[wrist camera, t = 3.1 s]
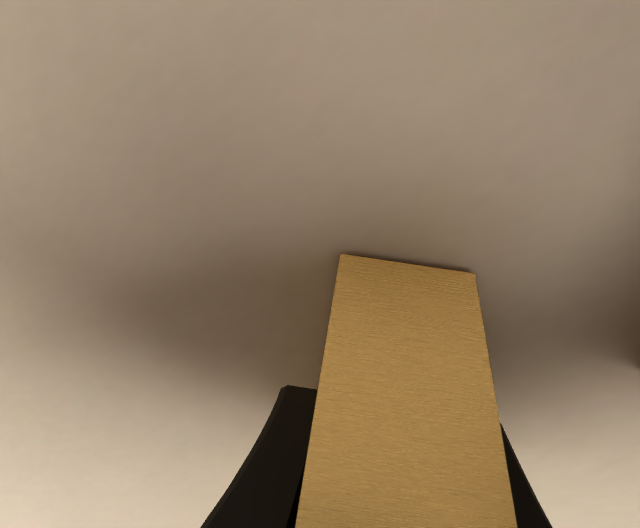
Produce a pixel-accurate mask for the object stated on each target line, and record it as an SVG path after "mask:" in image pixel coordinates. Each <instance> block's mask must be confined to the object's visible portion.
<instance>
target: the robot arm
mask: <svg viewBox="0 0 640 528" xmlns="http://www.w3.org/2000/svg"><path fill="white" fill-rule="evenodd" d="M317 392H318V390H315V389H309V388H303V387H297V386H290V385H287V386H285V387H283V388H281V390H280V392H279V395H278V398H277V401H276V403H275V405H274V407H273V410H272V412H271V414H270V416H269V418H268V420H267V422H266V424H265V426H264V428H263V430H262V432H261V434H260V435H259V437H258V439H257V441H256V443H255V444H254V446H253V448H252V450H251V451H250V453H249V455H248V456H247V458H246V460H245V461H244V463H243V464H242V466H241V468H240V469H239V471H238V473H237V474H236V476H235V477H234V479H233V481H232V482H231V484H230V485H229V487H228V489H227V490H226V492H225V493H224V495H223V496H222V497H221V499H220V500H219V502H218V503H217V505H216V506H215V507H214V509H213V510H212V512H211V513H210V515H209V516H208V517H207V519H206V520H205V522H204V523H203V525H202V526H201V527H200V528H295V525H296V519H297V513H298V507H299V501H300V495H301V489H302V483H303V477H304V471H305V465H306V458H307V452H308V446H309V440H310V434H311V428H312V422H313V416H314V410H315V404H316V398H317ZM500 427H501V433H502V439H503V445H504V451H505V457H506V463H507V469H508V475H509V481H510V487H511V493H512V499H513V505H514V511H515V517H516V522H517V528H552V526H551V524H550V522H549V520H548V519H547V517H546V515H545V513H544V511H543V509H542V507H541V505H540V503H539V502H538V500H537V498H536V496H535V494H534V492H533V490H532V488H531V486H530V484H529V482H528V480H527V478H526V476H525V474H524V472H523V470H522V468H521V465H520V463H519V461H518V459H517V457H516V455H515V453H514V451H513V449H512V446H511V444H510V442H509V440H508V438H507V435H506V433H505V431H504V429H503V427H502V424H501V423H500Z"/></svg>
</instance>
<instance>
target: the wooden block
mask: <svg viewBox="0 0 640 528" xmlns="http://www.w3.org/2000/svg"><path fill="white" fill-rule="evenodd" d="M295 528H517V522H516V517H515V511H514V505H513V499H512V493H511V487H510V481H509V475H508V469H507V463H506V457H505V451H504V445H503V439H502V433H501V427H500V421H499V415H498V409H497V403H496V397H495V391H494V385H493V379H492V373H491V367H490V361H489V355H488V349H487V343H486V338H485V332H484V326H483V320H482V314H481V308H480V302H479V296H478V290H477V284H476V278H475V274H474V273H468V272H461V271H454V270H447V269H440V268H434V267H427V266H420V265H413V264H407V263H400V262H393V261H386V260H380V259H373V258H366V257H359V256H353V255H346V254H340V259H339V265H338V271H337V277H336V283H335V289H334V295H333V301H332V307H331V314H330V320H329V326H328V332H327V338H326V344H325V350H324V356H323V362H322V368H321V374H320V380H319V386H318V392H317V398H316V404H315V410H314V416H313V422H312V428H311V434H310V440H309V446H308V452H307V458H306V465H305V471H304V477H303V483H302V489H301V495H300V501H299V507H298V513H297V519H296V525H295Z"/></svg>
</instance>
